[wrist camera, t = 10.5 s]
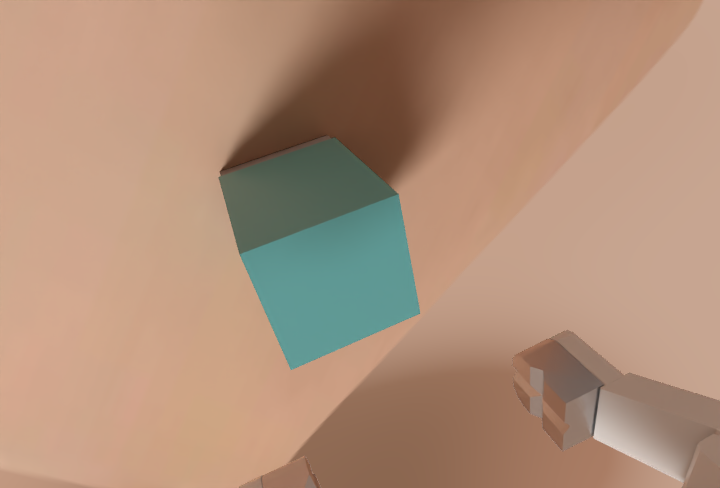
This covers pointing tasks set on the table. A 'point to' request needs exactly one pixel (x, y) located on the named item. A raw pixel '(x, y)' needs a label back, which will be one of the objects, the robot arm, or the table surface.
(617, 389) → the robot arm
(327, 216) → the teal rectangular block
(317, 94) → the table surface
